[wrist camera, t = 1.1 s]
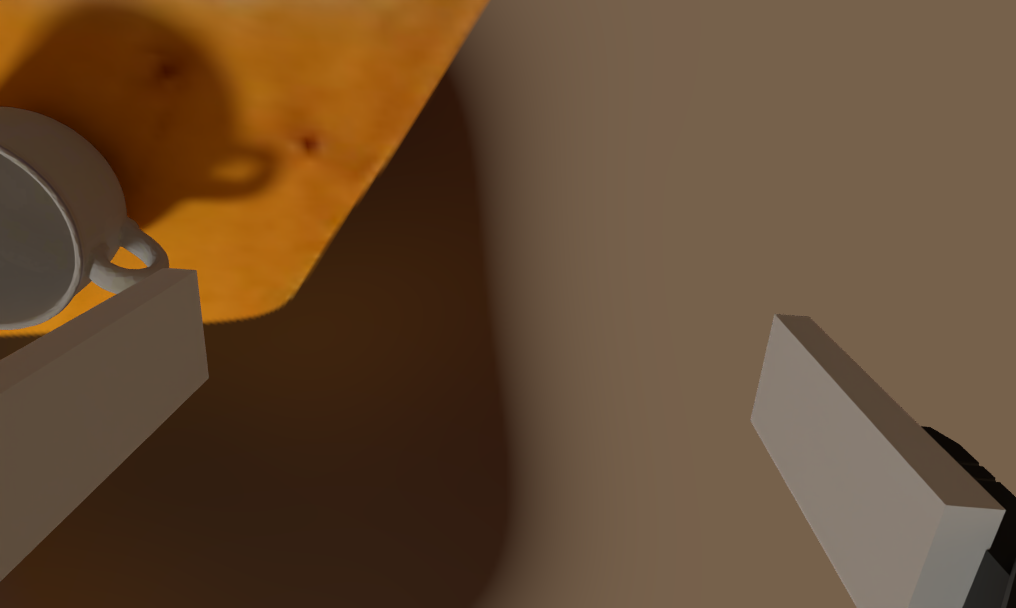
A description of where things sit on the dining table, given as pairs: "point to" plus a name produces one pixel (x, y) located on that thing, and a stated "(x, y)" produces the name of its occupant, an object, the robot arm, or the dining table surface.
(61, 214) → the teacup
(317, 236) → the dining table surface
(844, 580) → the robot arm
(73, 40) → the dining table surface
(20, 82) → the dining table surface
